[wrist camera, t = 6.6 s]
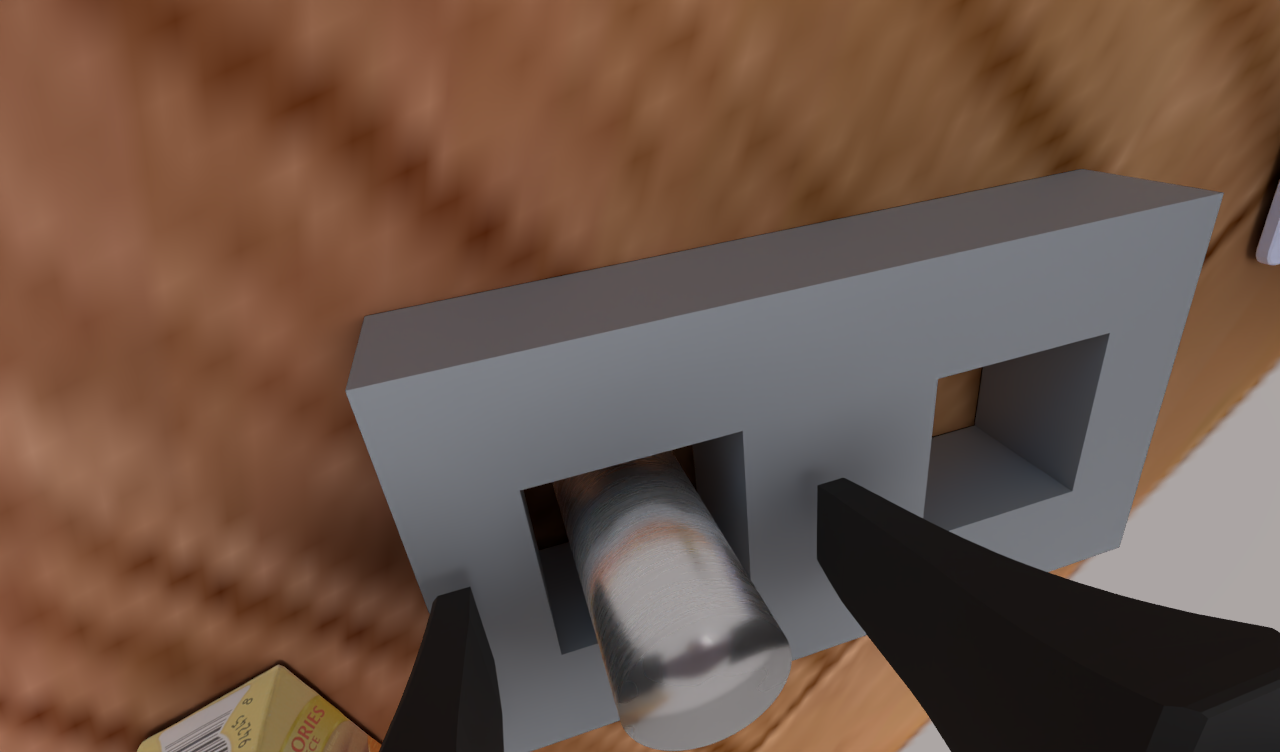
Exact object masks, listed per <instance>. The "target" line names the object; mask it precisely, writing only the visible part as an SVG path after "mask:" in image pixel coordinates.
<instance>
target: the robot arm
mask: <svg viewBox="0 0 1280 752" xmlns="http://www.w3.org/2000/svg"><path fill="white" fill-rule="evenodd" d="M1256 258H1257V260H1258V261H1259V262H1260V263H1264V264H1268V265H1278V264H1280V180H1279V183H1278V186H1277V189H1276V192H1275V195H1274V198H1273V201H1272V204H1271V207H1270V210H1269V213H1268V216H1267V219H1266V222H1265V225H1264V228H1263V231H1262V234H1261V237H1260V240H1259V243H1258V246H1257V249H1256ZM817 561H818V562H819V564H820V566H821V568H822V569H823V571H824V573H825V575H826V576H827V578H828V580H829V582H830V583H831V585H832V587H833V588H834V590H835V591H836V593H837V595H838V596H839V598H840V600H841V601H842V603H843V604H844V605H845V607H846V608H847V609H848V611H849V612H850V613H851V615H852V616H853V617H854V618H855V620H856V621H857V622H858V624H859V625H860V626H861V628H862V629H863V630H864V632H865V633H866V634H867V635H868V637H869V638H870V639H871V641H872V642H873V643H874V644H875V646H876V647H877V648H878V649H879V651H880V652H881V653H882V655H883V656H884V657H885V658H886V660H887V661H888V662H889V664H890V665H891V666H892V667H893V669H894V670H895V671H896V673H897V674H898V675H899V676H900V678H901V679H902V680H903V682H904V683H905V684H906V685H907V687H908V688H909V689H910V691H911V692H912V693H913V695H914V696H915V697H916V699H917V700H918V702H919V703H920V704H921V706H922V707H923V709H924V710H925V711H926V713H927V714H928V716H929V717H930V719H931V721H932V722H933V724H934V725H935V726H936V728H937V730H938V732H939V733H940V735H941V736H942V738H943V739H944V741H945V742H946V744H947V746H948V747H949V749H950V750H951V752H1280V633H1279V632H1278V631H1276V630H1275V629H1273V628H1269V627H1264V626H1258V625H1253V624H1248V623H1242V622H1237V621H1232V620H1226V619H1221V618H1216V617H1210V616H1205V615H1199V614H1195V613H1189V612H1185V611H1182V610H1177V609H1173V608H1169V607H1164V606H1160V605H1156V604H1152V603H1148V602H1144V601H1140V600H1136V599H1133V598H1128V597H1125V596H1121V595H1118V594H1114V593H1111V592H1108V591H1104V590H1101V589H1097V588H1094V587H1091V586H1087V585H1084V584H1081V583H1078V582H1075V581H1072V580H1069V579H1066V578H1063V577H1060V576H1057V575H1054V574H1051V573H1048V572H1045V571H1043V570H1040V569H1037V568H1035V567H1032V566H1029V565H1027V564H1024V563H1021V562H1018V561H1016V560H1013V559H1011V558H1008V557H1006V556H1003V555H1001V554H998V553H996V552H994V551H991V550H989V549H987V548H985V547H982V546H980V545H978V544H976V543H973V542H971V541H969V540H967V539H964V538H962V537H960V536H958V535H956V534H954V533H952V532H949V531H947V530H945V529H943V528H941V527H939V526H937V525H935V524H933V523H931V522H929V521H927V520H925V519H923V518H921V517H919V516H917V515H915V514H913V513H911V512H909V511H907V510H906V509H904V508H902V507H900V506H898V505H896V504H894V503H892V502H890V501H888V500H886V499H885V498H883V497H881V496H879V495H877V494H875V493H873V492H871V491H869V490H868V489H866V488H864V487H862V486H860V485H858V484H856V483H854V482H852V481H850V480H848V479H846V478H840V479H837V480H833V481H830V482H827V483H823V484H820V485H817ZM379 752H504V738H503V715H502V707H501V700H500V693H499V686H498V680H497V673H496V667H495V660H494V657H493V654H492V651H491V648H490V645H489V642H488V639H487V636H486V633H485V630H484V627H483V624H482V621H481V618H480V615H479V612H478V609H477V606H476V602H475V599H474V596H473V593H472V590H471V587H467V588H463V589H460V590H456V591H453V592H449V593H446V594H443V595H439V596H437V597H436V599H435V600H434V601H433V603H432V608H431V612H430V616H429V619H428V623H427V626H426V630H425V633H424V636H423V640H422V643H421V646H420V649H419V652H418V655H417V658H416V661H415V664H414V666H413V669H412V672H411V674H410V677H409V680H408V682H407V685H406V688H405V690H404V693H403V696H402V698H401V701H400V703H399V706H398V708H397V711H396V713H395V715H394V718H393V720H392V722H391V724H390V727H389V729H388V731H387V734H386V736H385V738H384V740H383V743H382V745H381V747H380V750H379Z"/></svg>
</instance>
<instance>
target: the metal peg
mask: <svg viewBox="0 0 1280 752" xmlns="http://www.w3.org/2000/svg"><path fill="white" fill-rule="evenodd" d="M552 484H553V487H554V491H555V494H556V498H557V501H558V505H559V508H560V512H561V515H562V519H563V522H564V526H565V529H566V533H567V536H568V540H569V543H570V547H571V550H572V554H573V557H574V561H575V564H576V568H577V571H578V575H579V578H580V582H581V585H582V589H583V592H584V596H585V599H586V603H587V606H588V610H589V613H590V617H591V620H592V624H593V627H594V631H595V634H596V638H597V641H598V645H599V648H600V652H601V655H602V659H603V662H604V666H605V669H606V673H607V676H608V680H609V683H610V687H611V690H612V694H613V697H614V701H615V704H616V708H617V711H618V715H619V718H620V721H621V724H622V726H623V728H624V730H625V731H626V732H627V734H628V735H629V736H630V737H631V738H633V739H634V740H635V741H636V742H638V743H640V744H642V745H644V746H647V747H650V748H653V749H658V750H665V751H682V750H689V749H695V748H699V747H704V746H707V745H710V744H713V743H716V742H718V741H720V740H723V739H725V738H727V737H729V736H731V735H733V734H735V733H737V732H738V731H740V730H742V729H743V728H745V727H746V726H748V725H749V724H750V723H752V722H753V721H754V720H756V719H757V718H758V717H759V716H760V715H761V714H763V713H764V712H765V711H766V710H767V709H768V708H769V706H770V705H771V704H772V703H773V702H774V700H775V699H776V698H777V696H778V695H779V694H780V692H781V691H782V689H783V687H784V685H785V683H786V681H787V678H788V676H789V672H790V668H791V660H792V655H791V648H790V645H789V642H788V640H787V638H786V636H785V635H784V633H783V631H782V630H781V628H780V627H779V625H778V623H777V622H776V620H775V618H774V617H773V615H772V614H771V612H770V610H769V609H768V607H767V605H766V604H765V602H764V601H763V599H762V597H761V596H760V594H759V592H758V591H757V589H756V588H755V586H754V584H753V583H752V581H751V579H750V578H749V576H748V575H747V573H746V571H745V570H744V568H743V566H742V565H741V563H740V561H739V560H738V558H737V557H736V555H735V553H734V552H733V550H732V548H731V547H730V545H729V544H728V542H727V540H726V539H725V537H724V535H723V534H722V532H721V531H720V529H719V527H718V526H717V524H716V522H715V521H714V519H713V518H712V516H711V514H710V513H709V511H708V509H707V508H706V506H705V504H704V503H703V501H702V500H701V498H700V496H699V495H698V493H697V491H696V490H695V488H694V487H693V485H692V483H691V482H690V480H689V478H688V477H687V475H686V474H685V472H684V470H683V469H682V467H681V465H680V464H679V462H678V461H677V459H676V457H675V456H674V454H673V452H672V451H671V450H670V451H666V452H662V453H659V454H655V455H651V456H647V457H644V458H640V459H636V460H632V461H629V462H625V463H621V464H617V465H614V466H610V467H606V468H603V469H599V470H595V471H591V472H588V473H584V474H580V475H576V476H573V477H569V478H565V479H561V480H558V481H554V482H552Z"/></svg>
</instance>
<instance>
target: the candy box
mask: <svg viewBox="0 0 1280 752" xmlns="http://www.w3.org/2000/svg"><path fill="white" fill-rule="evenodd" d="M380 747H381V744H379V743H378V742H377V741H376V740H375V739H373V738H371V737H370V736H369V735H368V734H366V733H365V732H364V731H363V730H361V729H360V728H359V727H358V726H357V725H355V724H354V723H353V722H352V721H350V720H349V719H348V718H347V717H345V716H344V715H343V714H342V713H341V712H340V711H339V710H338V709H337V708H335V707H334V706H333V705H331V704H330V703H329V702H327V701H326V700H325V699H324V698H323V697H321V696H320V695H319V694H318V693H317V692H315V691H314V690H313V689H311V688H310V687H309V686H307V685H306V684H305V683H303V682H302V681H301V680H300V679H299V678H297V677H296V676H295V675H294V674H293V673H291V672H290V671H289V670H288V669H287V668H285V667H284V666H281V665H276V666H275V667H273V668H271V669H269V670H268V671H266V672H264V673H262V674H260V675H259V676H257V677H255V678H253V679H252V680H250V681H248V682H247V683H245V684H243V685H242V686H240V687H238V688H236V689H234V690H233V691H231V692H229V693H227V694H226V695H224V696H222V697H220V698H219V699H217V700H215V701H213V702H212V703H210V704H208V705H207V706H205V707H203V708H201V709H200V710H198V711H196V712H195V713H193V714H191V715H189V716H188V717H186V718H184V719H183V720H181V721H179V722H177V723H176V724H174V725H172V726H170V727H168V728H167V729H165V730H163V731H161V732H159V733H157V734H155V735H153V736H151V737H149V738H148V739H146V740H145V741H143V742H142V743H141V745H140V746H139V748H138V750H137V752H379V750H380Z"/></svg>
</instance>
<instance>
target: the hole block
mask: <svg viewBox="0 0 1280 752" xmlns="http://www.w3.org/2000/svg"><path fill="white" fill-rule="evenodd" d="M1223 194H1224V193H1223V192H1217V191H1211V190H1205V189H1199V188H1193V187H1187V186H1181V185H1175V184H1169V183H1163V182H1157V181H1151V180H1145V179H1139V178H1133V177H1127V176H1121V175H1115V174H1109V173H1103V172H1097V171H1091V170H1085V169H1080V170H1075V171H1070V172H1065V173H1060V174H1055V175H1051V176H1046V177H1041V178H1036V179H1031V180H1026V181H1021V182H1017V183H1012V184H1007V185H1002V186H997V187H992V188H987V189H982V190H978V191H973V192H968V193H963V194H958V195H953V196H948V197H943V198H939V199H934V200H929V201H924V202H919V203H914V204H909V205H905V206H900V207H895V208H890V209H885V210H880V211H875V212H870V213H866V214H861V215H856V216H851V217H846V218H841V219H836V220H832V221H827V222H822V223H817V224H812V225H807V226H802V227H797V228H793V229H788V230H783V231H778V232H773V233H768V234H763V235H759V236H754V237H749V238H744V239H739V240H734V241H729V242H724V243H720V244H715V245H710V246H705V247H700V248H695V249H690V250H685V251H681V252H676V253H671V254H666V255H661V256H656V257H651V258H647V259H642V260H637V261H632V262H627V263H622V264H617V265H612V266H608V267H603V268H598V269H593V270H588V271H583V272H578V273H574V274H569V275H564V276H559V277H554V278H549V279H544V280H539V281H535V282H530V283H525V284H520V285H515V286H510V287H505V288H501V289H496V290H491V291H486V292H481V293H476V294H471V295H466V296H462V297H457V298H452V299H447V300H442V301H437V302H432V303H427V304H423V305H418V306H413V307H408V308H403V309H398V310H393V311H389V312H384V313H379V314H374V315H369V316H365V317H364V321H363V325H362V329H361V333H360V336H359V340H358V344H357V348H356V352H355V356H354V360H353V363H352V367H351V371H350V375H349V379H348V383H347V386H346V390H345V391H346V394H347V397H348V399H349V402H350V404H351V407H352V410H353V412H354V415H355V418H356V420H357V423H358V426H359V428H360V431H361V434H362V436H363V439H364V442H365V444H366V447H367V449H368V452H369V455H370V457H371V460H372V463H373V465H374V468H375V471H376V473H377V476H378V479H379V481H380V484H381V487H382V489H383V492H384V495H385V497H386V500H387V502H388V505H389V508H390V510H391V513H392V516H393V518H394V521H395V524H396V526H397V529H398V532H399V534H400V537H401V540H402V542H403V545H404V547H405V550H406V553H407V555H408V558H409V561H410V563H411V566H412V569H413V571H414V574H415V577H416V579H417V582H418V585H419V587H420V590H421V593H422V595H423V598H424V600H425V603H426V606H427V608H428V611H429V614H430V612H431V608H432V603H433V601H434V600H435V599H436V597H437V596H439V595H443V594H446V593H449V592H453V591H456V590H460V589H463V588H467V587H471V590H472V593H473V596H474V599H475V602H476V606H477V609H478V612H479V615H480V618H481V621H482V624H483V627H484V630H485V633H486V636H487V639H488V642H489V645H490V648H491V651H492V654H493V657H494V660H495V667H496V673H497V680H498V686H499V693H500V700H501V707H502V715H503V738H504V752H530V751H533V750H536V749H539V748H542V747H545V746H548V745H551V744H554V743H556V742H559V741H562V740H565V739H568V738H571V737H574V736H577V735H579V734H582V733H585V732H588V731H591V730H594V729H597V728H600V727H603V726H605V725H608V724H611V723H614V722H617V721H620V718H619V715H618V711H617V708H616V704H615V701H614V697H613V694H612V690H611V687H610V683H609V680H608V676H607V673H606V669H605V666H604V662H603V659H602V655H601V652H600V648H599V645H598V641H597V638H596V634H595V631H594V627H593V624H592V620H591V617H590V613H589V610H588V606H587V603H586V599H585V596H584V592H583V589H582V585H581V582H580V578H579V575H578V571H577V568H576V564H575V561H574V557H573V554H572V550H571V547H570V543H569V542H567V543H564V544H560V545H557V546H553V547H550V548H546V549H543V550H539V549H538V545H537V541H536V538H535V534H534V530H533V526H532V522H531V518H530V514H529V510H528V506H527V502H526V498H525V494H524V489H528V488H531V487H535V486H539V485H543V484H546V483H550V482H554V481H558V480H561V479H565V478H569V477H573V476H576V475H580V474H584V473H588V472H591V471H595V470H599V469H603V468H606V467H610V466H614V465H617V464H621V463H625V462H629V461H632V460H636V459H640V458H644V457H647V456H651V455H655V454H659V453H662V452H666V451H670V450H674V449H677V448H681V447H685V446H689V445H692V448H693V458H694V468H695V478H696V489H697V493H698V495H699V496H700V498H701V500H702V501H703V503H704V504H705V506H706V508H707V509H708V511H709V513H710V514H711V516H712V518H713V519H714V521H715V522H716V524H717V526H718V527H719V529H720V531H721V532H722V534H723V535H724V537H725V539H726V540H727V542H728V544H729V545H730V547H731V548H732V550H733V552H734V553H735V555H736V557H737V558H738V560H739V561H740V563H741V565H742V566H743V568H744V570H745V571H746V573H747V575H748V576H749V578H750V579H751V581H752V583H753V584H754V586H755V588H756V589H757V591H758V592H759V594H760V596H761V597H762V599H763V601H764V602H765V604H766V605H767V607H768V609H769V610H770V612H771V614H772V615H773V617H774V618H775V620H776V622H777V623H778V625H779V627H780V628H781V630H782V631H783V633H784V635H785V636H786V638H787V640H788V642H789V645H790V648H791V655H792V660H791V661H793V660H796V659H799V658H802V657H804V656H807V655H810V654H813V653H816V652H819V651H822V650H825V649H828V648H830V647H833V646H836V645H839V644H842V643H845V642H848V641H851V640H853V639H856V638H859V637H862V636H865V635H867V634H866V633H865V632H864V630H863V629H862V628H861V626H860V625H859V624H858V622H857V621H856V620H855V618H854V617H853V616H852V615H851V613H850V612H849V611H848V609H847V608H846V607H845V605H844V604H843V603H842V601H841V600H840V598H839V596H838V595H837V593H836V591H835V590H834V588H833V587H832V585H831V583H830V582H829V580H828V578H827V576H826V575H825V573H824V571H823V569H822V568H821V566H820V564H819V562H818V561H817V485H820V484H823V483H827V482H830V481H833V480H837V479H840V478H846V479H848V480H850V481H852V482H854V483H856V484H858V485H860V486H862V487H864V488H866V489H868V490H869V491H871V492H873V493H875V494H877V495H879V496H881V497H883V498H885V499H886V500H888V501H890V502H892V503H894V504H896V505H898V506H900V507H902V508H904V509H906V510H907V511H909V512H911V513H913V514H915V515H917V516H919V517H921V518H923V519H925V520H927V521H929V522H931V523H933V524H935V525H937V526H939V527H941V528H943V529H945V530H947V531H949V532H952V533H954V534H956V535H958V536H960V537H962V538H964V539H967V540H969V541H971V542H973V543H976V544H978V545H980V546H982V547H985V548H987V549H989V550H991V551H994V552H996V553H998V554H1001V555H1003V556H1006V557H1008V558H1011V559H1013V560H1016V561H1018V562H1021V563H1024V564H1027V565H1029V566H1032V567H1035V568H1037V569H1040V570H1043V571H1045V572H1050V571H1052V570H1055V569H1058V568H1061V567H1064V566H1067V565H1070V564H1073V563H1076V562H1078V561H1081V560H1084V559H1087V558H1090V557H1093V556H1096V555H1099V554H1101V553H1104V552H1107V551H1110V550H1113V549H1116V548H1119V547H1120V543H1121V540H1122V536H1123V533H1124V530H1125V527H1126V523H1127V520H1128V516H1129V513H1130V510H1131V506H1132V503H1133V499H1134V496H1135V493H1136V489H1137V486H1138V482H1139V479H1140V476H1141V472H1142V469H1143V465H1144V462H1145V459H1146V455H1147V452H1148V449H1149V445H1150V442H1151V438H1152V435H1153V432H1154V428H1155V425H1156V421H1157V418H1158V415H1159V411H1160V408H1161V404H1162V401H1163V398H1164V394H1165V391H1166V387H1167V384H1168V381H1169V377H1170V374H1171V370H1172V367H1173V364H1174V360H1175V357H1176V353H1177V350H1178V347H1179V343H1180V340H1181V336H1182V333H1183V330H1184V326H1185V323H1186V319H1187V316H1188V313H1189V309H1190V306H1191V303H1192V299H1193V296H1194V292H1195V289H1196V286H1197V282H1198V279H1199V275H1200V272H1201V269H1202V265H1203V262H1204V258H1205V255H1206V252H1207V248H1208V245H1209V241H1210V238H1211V235H1212V231H1213V228H1214V224H1215V221H1216V218H1217V214H1218V211H1219V207H1220V204H1221V201H1222V197H1223ZM980 367H983V371H982V378H981V385H980V392H979V399H978V406H977V413H976V420H975V426H971V427H968V428H964V429H961V430H957V431H954V432H950V433H947V434H943V435H940V436H936V437H933V438H932V430H933V421H934V412H935V402H936V393H937V384H938V379H939V378H943V377H947V376H950V375H954V374H958V373H962V372H965V371H969V370H973V369H977V368H980Z"/></svg>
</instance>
